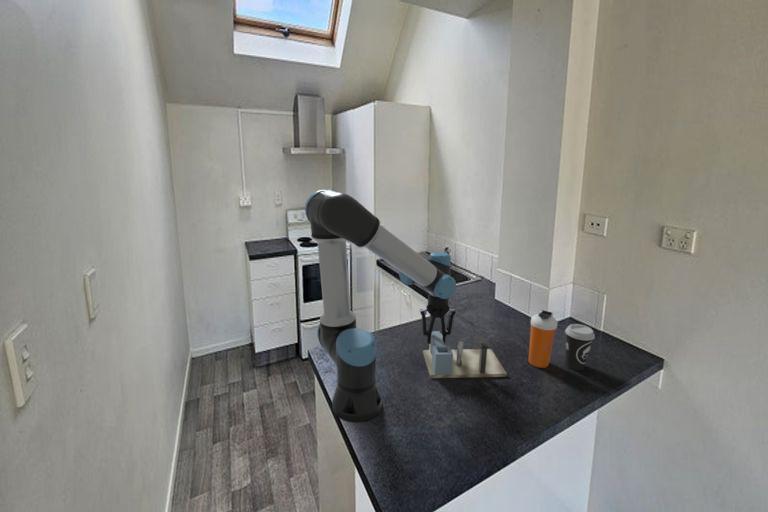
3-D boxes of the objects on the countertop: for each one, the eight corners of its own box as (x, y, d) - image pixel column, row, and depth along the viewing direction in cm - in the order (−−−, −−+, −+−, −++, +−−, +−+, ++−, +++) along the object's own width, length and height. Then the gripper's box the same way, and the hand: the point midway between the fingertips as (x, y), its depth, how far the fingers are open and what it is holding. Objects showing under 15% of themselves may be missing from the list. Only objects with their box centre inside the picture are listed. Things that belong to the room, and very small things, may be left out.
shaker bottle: (524, 365, 138) (530, 315, 132) (527, 354, 145) (533, 306, 140) (550, 371, 134) (557, 320, 128) (552, 360, 141) (559, 311, 136)
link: (451, 374, 129) (453, 354, 127) (434, 375, 129) (435, 354, 127) (442, 349, 146) (443, 331, 143) (426, 349, 145) (427, 331, 143)
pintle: (456, 369, 134) (458, 343, 132) (455, 366, 136) (457, 340, 134) (462, 369, 135) (464, 343, 132) (460, 366, 136) (462, 340, 134)
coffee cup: (582, 359, 142) (588, 323, 138) (593, 373, 133) (600, 335, 129) (556, 358, 143) (562, 322, 139) (565, 372, 134) (571, 334, 130)
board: (430, 378, 129) (430, 375, 129) (423, 352, 145) (423, 350, 145) (506, 376, 130) (506, 373, 130) (490, 351, 147) (491, 349, 146)
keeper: (477, 376, 131) (480, 346, 127) (472, 364, 137) (474, 336, 134) (486, 376, 131) (489, 345, 127) (480, 364, 138) (482, 336, 134)
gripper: (418, 297, 133) (416, 356, 139) (462, 297, 134) (458, 355, 140) (415, 290, 140) (413, 346, 146) (457, 289, 141) (453, 345, 147)
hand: (435, 350), depth 143 cm, fingers closed on link, 3 cm apart
